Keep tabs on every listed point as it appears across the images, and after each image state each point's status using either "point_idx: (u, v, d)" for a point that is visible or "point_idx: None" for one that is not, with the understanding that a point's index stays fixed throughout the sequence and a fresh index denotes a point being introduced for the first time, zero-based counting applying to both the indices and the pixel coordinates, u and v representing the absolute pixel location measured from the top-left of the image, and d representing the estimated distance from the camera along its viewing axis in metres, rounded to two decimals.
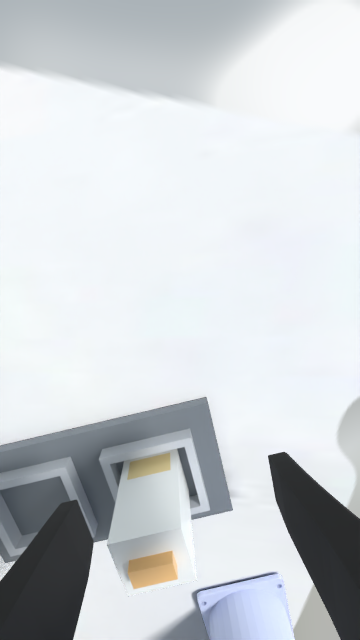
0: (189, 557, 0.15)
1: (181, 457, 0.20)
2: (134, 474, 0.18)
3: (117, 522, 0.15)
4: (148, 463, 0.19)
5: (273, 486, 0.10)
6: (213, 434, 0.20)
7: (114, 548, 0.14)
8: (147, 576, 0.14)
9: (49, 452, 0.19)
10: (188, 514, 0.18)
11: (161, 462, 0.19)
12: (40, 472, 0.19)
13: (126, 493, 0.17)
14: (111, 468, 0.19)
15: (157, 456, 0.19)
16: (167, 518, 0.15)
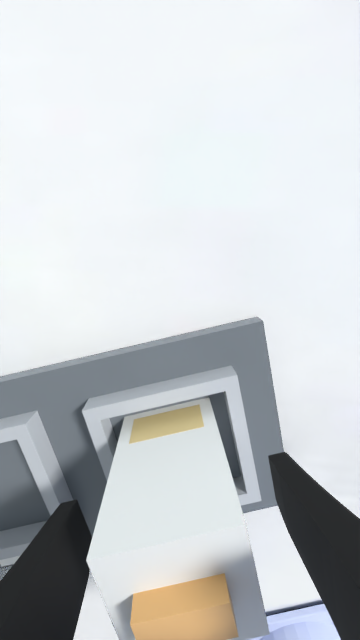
0: (258, 587, 0.07)
1: (216, 414, 0.13)
2: (141, 435, 0.11)
3: (110, 515, 0.08)
4: (165, 420, 0.11)
5: (273, 486, 0.10)
6: (268, 376, 0.12)
7: (102, 568, 0.07)
8: (173, 631, 0.06)
9: (2, 402, 0.12)
10: None
11: (186, 417, 0.11)
12: None
13: (128, 464, 0.09)
14: (103, 427, 0.11)
15: (178, 410, 0.12)
16: (212, 506, 0.07)
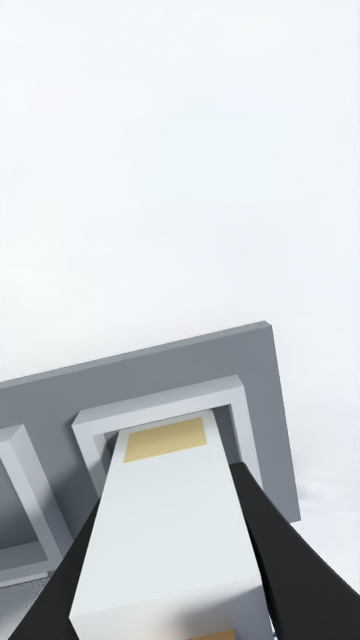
0: None
1: (219, 427, 0.11)
2: (137, 453, 0.10)
3: (100, 555, 0.07)
4: (163, 435, 0.10)
5: None
6: (277, 386, 0.11)
7: (88, 626, 0.06)
8: None
9: None
10: None
11: (187, 433, 0.10)
12: None
13: (121, 488, 0.08)
14: (95, 443, 0.10)
15: (178, 424, 0.11)
16: (219, 547, 0.06)
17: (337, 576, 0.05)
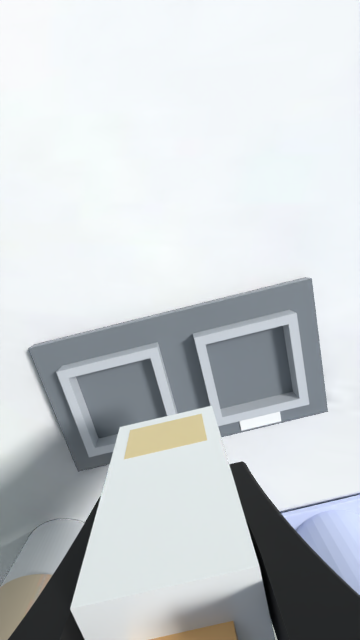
0: (272, 635, 0.06)
1: (277, 345, 0.18)
2: (137, 449, 0.10)
3: (100, 549, 0.07)
4: (163, 431, 0.10)
5: None
6: (314, 317, 0.18)
7: (89, 617, 0.06)
8: None
9: (135, 336, 0.18)
10: None
11: (188, 429, 0.10)
12: (129, 353, 0.17)
13: (122, 483, 0.08)
14: (206, 350, 0.17)
15: (178, 420, 0.11)
16: (218, 540, 0.06)
17: (337, 576, 0.05)
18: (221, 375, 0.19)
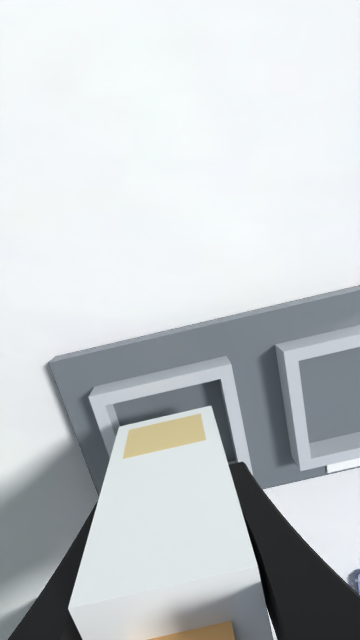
0: (270, 635, 0.06)
1: None
2: (136, 449, 0.10)
3: (99, 548, 0.07)
4: (163, 431, 0.10)
5: None
6: None
7: (87, 617, 0.06)
8: None
9: (196, 348, 0.13)
10: None
11: (187, 429, 0.10)
12: (191, 372, 0.12)
13: (120, 483, 0.08)
14: (298, 369, 0.12)
15: (177, 420, 0.11)
16: (217, 540, 0.06)
17: (337, 576, 0.05)
18: (307, 401, 0.14)
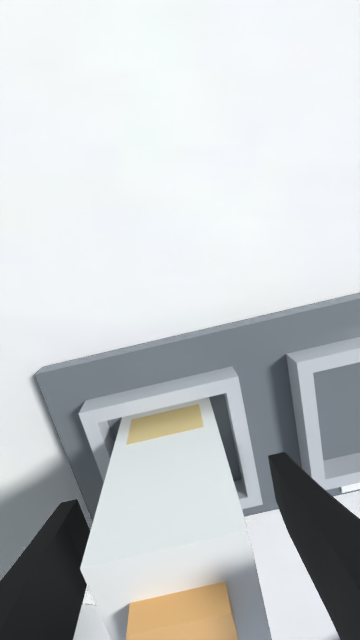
0: (260, 595, 0.07)
1: None
2: (139, 436, 0.11)
3: (106, 520, 0.07)
4: (163, 420, 0.11)
5: (273, 486, 0.10)
6: None
7: (97, 577, 0.06)
8: None
9: (199, 357, 0.12)
10: None
11: (185, 418, 0.11)
12: (193, 386, 0.11)
13: (125, 466, 0.09)
14: (312, 381, 0.11)
15: (177, 410, 0.12)
16: (212, 510, 0.07)
17: None
18: (321, 415, 0.12)
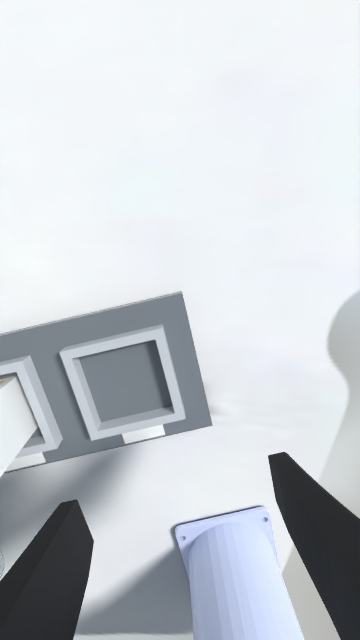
0: None
1: (154, 359, 0.18)
2: None
3: None
4: None
5: (273, 486, 0.10)
6: (189, 332, 0.18)
7: None
8: None
9: (6, 349, 0.18)
10: (9, 441, 0.16)
11: None
12: None
13: None
14: (74, 364, 0.17)
15: None
16: None
17: None
18: (99, 389, 0.18)
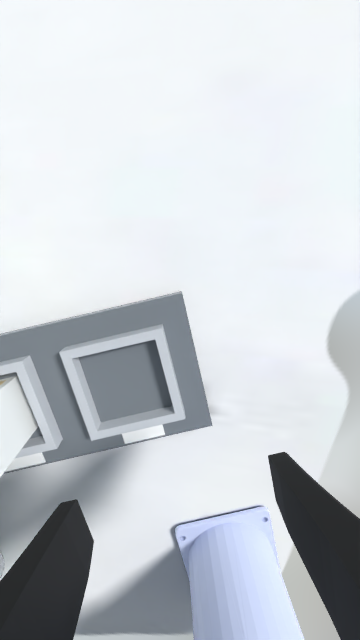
0: None
1: (153, 359, 0.18)
2: None
3: None
4: None
5: (273, 486, 0.10)
6: (189, 332, 0.18)
7: None
8: None
9: (6, 349, 0.18)
10: (9, 441, 0.16)
11: None
12: None
13: None
14: (73, 364, 0.17)
15: None
16: None
17: None
18: (98, 389, 0.18)
